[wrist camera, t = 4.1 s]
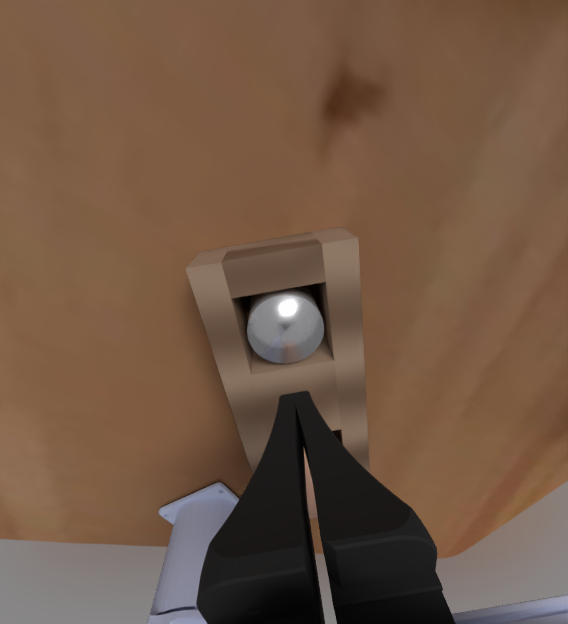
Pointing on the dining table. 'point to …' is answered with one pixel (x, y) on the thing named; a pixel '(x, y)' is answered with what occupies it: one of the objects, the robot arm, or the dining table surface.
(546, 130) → the dining table surface
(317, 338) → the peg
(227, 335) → the wooden peg holder
